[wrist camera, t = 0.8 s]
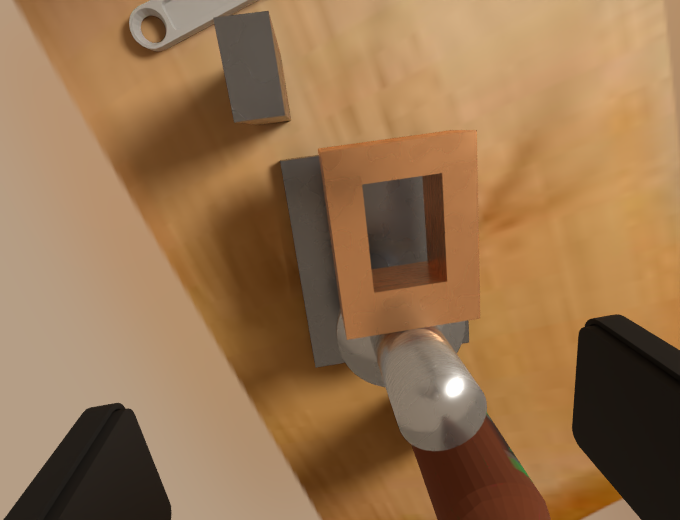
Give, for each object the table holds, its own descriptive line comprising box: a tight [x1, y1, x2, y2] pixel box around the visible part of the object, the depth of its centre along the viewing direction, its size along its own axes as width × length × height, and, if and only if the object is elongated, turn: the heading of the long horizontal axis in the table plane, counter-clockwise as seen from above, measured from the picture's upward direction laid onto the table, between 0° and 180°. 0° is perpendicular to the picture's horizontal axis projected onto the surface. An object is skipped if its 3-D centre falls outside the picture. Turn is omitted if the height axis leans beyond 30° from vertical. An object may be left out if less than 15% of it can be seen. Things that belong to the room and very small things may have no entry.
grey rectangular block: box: [213, 11, 291, 125], centre depth 24 cm, size 4×2×11 cm, turn 7°
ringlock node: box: [280, 130, 487, 451], centre depth 27 cm, size 19×14×15 cm
